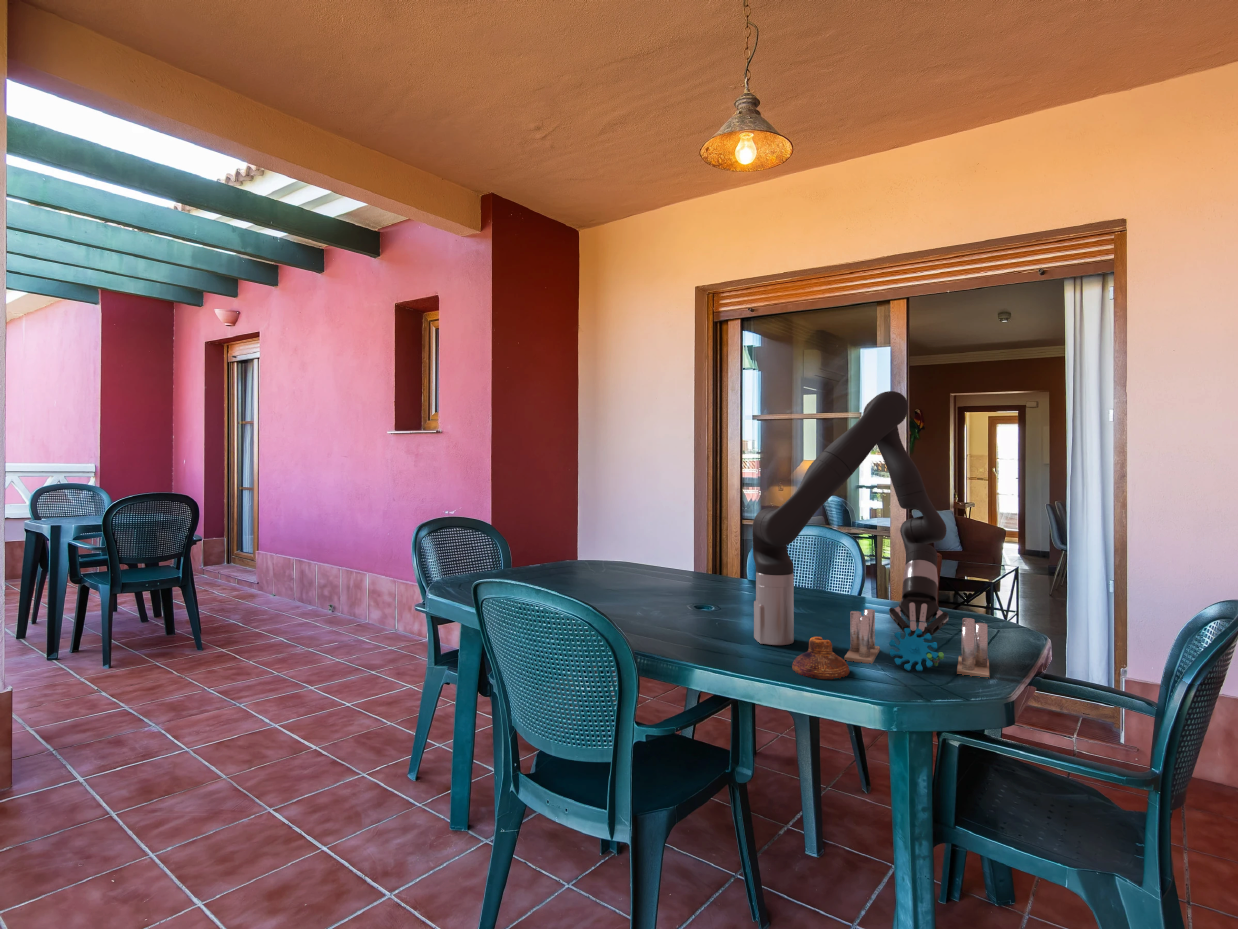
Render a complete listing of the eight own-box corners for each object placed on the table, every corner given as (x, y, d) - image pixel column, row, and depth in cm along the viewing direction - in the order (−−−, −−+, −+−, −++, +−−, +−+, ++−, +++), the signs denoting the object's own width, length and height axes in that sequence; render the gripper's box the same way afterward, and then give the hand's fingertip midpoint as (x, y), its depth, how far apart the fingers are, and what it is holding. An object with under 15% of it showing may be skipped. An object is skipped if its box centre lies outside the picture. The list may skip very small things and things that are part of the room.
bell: (788, 663, 156) (788, 631, 156) (843, 665, 155) (843, 632, 155) (796, 679, 144) (796, 644, 144) (855, 681, 143) (855, 646, 143)
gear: (882, 660, 151) (895, 620, 156) (885, 671, 155) (898, 632, 160) (936, 677, 145) (948, 635, 149) (937, 688, 149) (949, 647, 153)
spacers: (854, 645, 168) (854, 607, 168) (987, 660, 154) (987, 619, 154) (846, 655, 158) (846, 616, 158) (987, 672, 145) (987, 629, 145)
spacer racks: (853, 646, 169) (853, 643, 169) (988, 662, 156) (988, 659, 155) (844, 660, 157) (844, 657, 157) (989, 678, 144) (989, 674, 144)
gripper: (888, 572, 164) (883, 636, 154) (950, 576, 158) (949, 643, 148) (891, 591, 169) (886, 654, 158) (951, 595, 163) (950, 661, 152)
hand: (916, 648), depth 153 cm, fingers closed
